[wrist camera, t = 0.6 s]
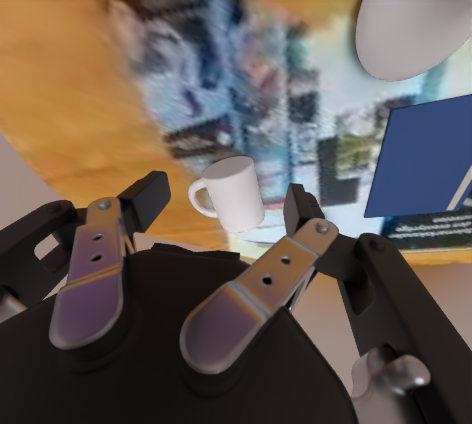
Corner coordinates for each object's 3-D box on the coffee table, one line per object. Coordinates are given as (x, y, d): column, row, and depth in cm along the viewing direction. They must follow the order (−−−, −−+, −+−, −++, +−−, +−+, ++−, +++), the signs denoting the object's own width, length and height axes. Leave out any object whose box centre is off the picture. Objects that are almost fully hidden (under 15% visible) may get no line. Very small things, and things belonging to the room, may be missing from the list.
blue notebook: (390, 109, 23) (393, 110, 23) (534, 82, 20) (539, 82, 20) (363, 216, 34) (365, 218, 33) (456, 209, 31) (458, 211, 30)
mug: (254, 151, 29) (251, 172, 23) (264, 202, 34) (265, 230, 28) (187, 166, 32) (169, 189, 26) (207, 211, 37) (196, 238, 31)
